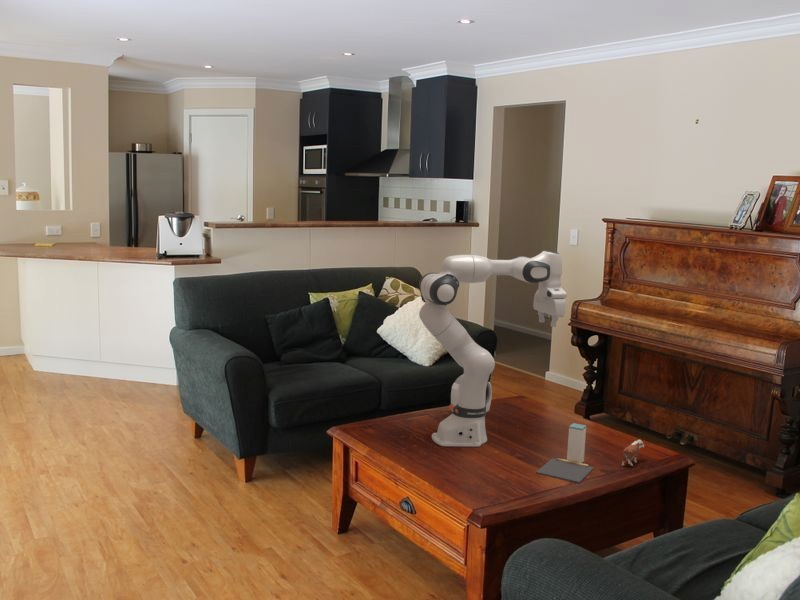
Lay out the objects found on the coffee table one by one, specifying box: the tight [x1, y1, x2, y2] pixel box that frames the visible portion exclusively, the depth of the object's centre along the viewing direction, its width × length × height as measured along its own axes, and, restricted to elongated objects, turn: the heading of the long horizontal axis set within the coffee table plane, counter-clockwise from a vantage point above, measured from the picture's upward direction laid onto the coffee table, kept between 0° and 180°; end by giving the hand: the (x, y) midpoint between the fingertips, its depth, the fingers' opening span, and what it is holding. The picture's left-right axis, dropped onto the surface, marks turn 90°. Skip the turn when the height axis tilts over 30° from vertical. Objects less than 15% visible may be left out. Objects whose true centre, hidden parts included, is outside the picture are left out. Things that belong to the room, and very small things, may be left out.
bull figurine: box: [621, 439, 645, 467], centre depth 292 cm, size 4×13×8 cm, turn 137°
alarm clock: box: [450, 373, 493, 413], centre depth 342 cm, size 18×8×20 cm, turn 119°
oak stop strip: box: [555, 457, 589, 467], centre depth 289 cm, size 12×2×1 cm, turn 59°
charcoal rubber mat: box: [535, 458, 595, 484], centre depth 282 cm, size 16×17×1 cm
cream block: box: [566, 423, 587, 463], centre depth 291 cm, size 5×5×14 cm
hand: (547, 324), depth 314 cm, fingers open, 8 cm apart
